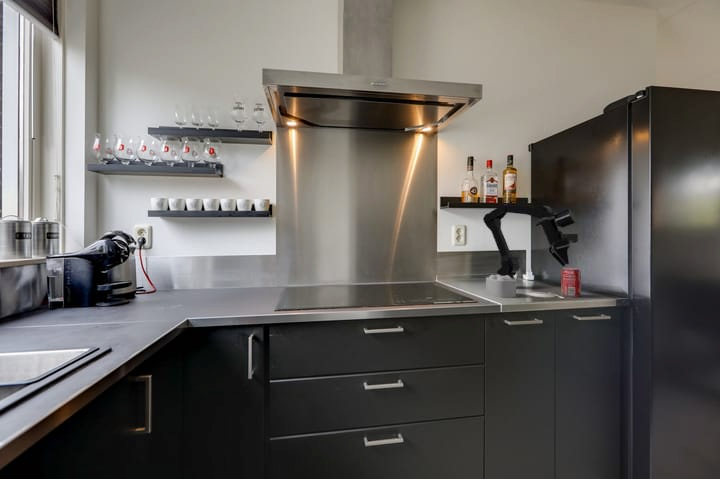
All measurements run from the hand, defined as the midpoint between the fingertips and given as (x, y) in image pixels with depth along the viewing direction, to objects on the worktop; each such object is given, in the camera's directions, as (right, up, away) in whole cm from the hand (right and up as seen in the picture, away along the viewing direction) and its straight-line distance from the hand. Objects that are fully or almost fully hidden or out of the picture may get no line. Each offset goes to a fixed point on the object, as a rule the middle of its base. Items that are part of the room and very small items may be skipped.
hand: (565, 265), depth 137 cm
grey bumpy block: (-28, -13, +1) cm, 32 cm away
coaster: (-10, -13, +1) cm, 17 cm away
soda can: (+2, -14, 0) cm, 14 cm away
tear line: (-4, -13, 0) cm, 14 cm away
